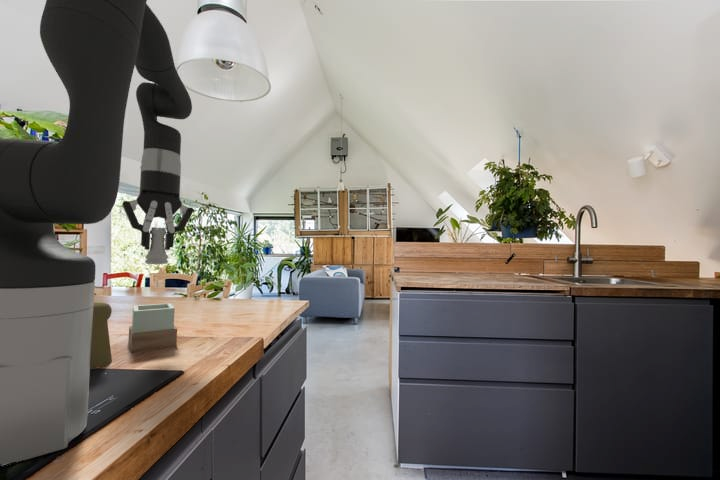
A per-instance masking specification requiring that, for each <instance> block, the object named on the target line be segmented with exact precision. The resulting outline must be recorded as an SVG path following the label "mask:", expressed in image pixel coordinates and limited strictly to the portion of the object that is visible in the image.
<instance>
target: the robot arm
mask: <svg viewBox="0 0 720 480" xmlns="http://www.w3.org/2000/svg"><path fill="white" fill-rule="evenodd" d="M147 1H148V0H46V1H45V4H44V7H43V11H42V15H41V19H40V24H39V36H40V40H41V43H42V47H43V49H44V51H45V53H46V55H47V58H48V60H49V61H50V63H51V65H52V67H53V69H54V70H55V73H56V74H57V76H58V77H59V79H60V81H61V83H62V84H63V86H64V88H65V90H66V93H67V97H68V99H69V102H68V103H69V109H68V118H67V123H66V127H65V130H64V133H63V136H62V138H61V139H60V140H59V141H54V140H53V141H52V140H39V139H38V140H37V139H25V138H24V139H23V138H22V139H21V138H0V464H1V465H2V464H6V463H9V462H16V463H19V461H20V462H22V460H23V461H26V460H29V459H33V458H36V457H40V456H43V455H47V454H49V453H54V452H58V451H61V450H64V449H66V448H68V445H69V443H70V442H71V441H72V440H73V439H75V438H76V437H78V436H79V435H80V434H81V433H83V431H84V430H85V429H86V427H87V426H88V424H87V423H88V408H89V396H90V395H89V393H90V391H89V390H90V389H89V388H90V374H91V373H90V372H91V370H90V357H91V339H92V321H93V305H94V303H95V287H96V285H95V284H96V282H95V281H96V270H97V269H96V262H95V261H94V258H91V257H90V256H88V255H85V254H82V253H80V252H76V251H74V250H72V249H70V248H68V247H66V246H65V245H63V244H62V243H61V242H60V241H59V240H58V239H57V238H56V234H55V229H54V224H63V225H65V224H67V225H91V224H92V225H93V224H97V223H99V222H101V221H103V220H105V219H106V218H107V217H108V216H109V215H110V213H111V212H112V210H113V207H114V205H115V204H116V201H117V198H118V192H119V187H120V179H121V167H122V152H123V151H122V150H123V140H124V139H123V137H124V128H125V127H124V126H125V117H126V110H127V103H128V98H129V93H130V88H131V83H132V77H133V74H134V71H135V70H134V69H136V71H137V73H138V74H139V76H140V77H141V78H142V79H144V80H146V81H143V82H141V83H140V84H138V86H137V88H136V91H135V96H136V102H137V105H138V108H139V109H138V110H139V112H140V115H141V116H140V117H141V120H142V127H143V150H142V155H141V162H140V163H141V165H140V180H139V182H140V183H139V194H138V196H137V198H136V199H133V200H124V201H123V202H122V205H121V206H122V207H123V211H124V212H125V213H124V214H125V215H126V218H127V219H128V221H129V224H130V226H131V227H132V229H134V230H137V231H140V233H141V234H140V235H141V240H140V245H141V247H143V248H144V250H145V251H146V250H148V251H149V250H150V246H151V239H150V238H151V233H150V231H151V227H152V226H151V225H152V223H153V221H154V218H159V219H164V220H163V221H164V223H165V230H166V232H167V233H166V234H165V235H164V238H165V240H164V247H165V251H170V250H171V248H173V247H174V245H175V243H174V241H175V234H176V233H178V232H182V231H184V230H185V228H186V226H187V223H188V222H189V220H190V218H191V216H192V215H193V212H194V208H193V207H188V206H187V205H184V204H182V203H183V202H182V201H181V198H180V196H181V194H180V193H181V175H182V174H181V173H182V172H181V171H182V162H181V161H182V160H181V148H182V147H181V144H182V135H181V132H180V131H179V130H178V129H177V128H175V127H173V126H170V125H168V124H164V123H161V122H160V121H158V117H159V118H167V119H174V120H185V119H188V118H189V117H190V116H191V114H192V110H193V104H192V99H191V96H190V93H189V92H188V89H187V88H186V86H185V85H184V83H183V81H182V79H181V77H180V75H179V73H178V71H177V69H176V65H175V61H174V57H173V53H172V52H173V51H172V47H171V43H170V40H169V37H168V34H167V31H166V29H165V28H164V26H163V24H162V23H161V21H160V20H159V19H158V16H157V15H156V14H155V13H154V11H153V10H152V9H151V8H150V6H149V5H148V4H147ZM137 205H138V206H139V207H140V209H141V210H142V211H143V213H144V214H145V215H144V219H143V223H142V224H141V223H139V221H138V219H137V216H136V214H135V210H136V209H137ZM179 209H180V214H181V215H182V216H181V218H180V220H179V221H178V223H177V225H176V226H175V223H174V221H175V220H174V215H175V213H177V211H179Z"/></svg>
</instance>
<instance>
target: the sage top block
mask: <svg viewBox="0 0 720 480" xmlns="http://www.w3.org/2000/svg"><path fill="white" fill-rule="evenodd" d="M131 326H132V330H133V333H142V332H150V331H159V330H168V329H174V326H175V306H173V304H172V303H171V302H169V303H156V304H155V303H153V304H152V303H151V304H142V305H132V321H131Z"/></svg>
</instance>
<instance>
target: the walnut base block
mask: <svg viewBox="0 0 720 480" xmlns="http://www.w3.org/2000/svg"><path fill="white" fill-rule="evenodd" d="M177 339H178V328H177V327H176V326H175V325H174V329H168V330H159V331H150V332H142V333H133V330H132V325H129V327H128V345H129V346H128V347H129V350H130V353H137V352H143V351H151V350H156V349H164V348H168V347H169V348H170V347H176V346H177V344H178V341H177Z"/></svg>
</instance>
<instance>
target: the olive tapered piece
mask: <svg viewBox="0 0 720 480" xmlns="http://www.w3.org/2000/svg"><path fill="white" fill-rule="evenodd" d="M111 315H112V307H111V305H110V304H109V303H107V302H106V303H105V302H94V305H93V321H92V339H91V357H90V371H91V370H96V369H100V368H103V367H105V366H106V367H107V366H108V365H110V364H111V363H112V362H113V358H112V349H111V341H110V331H109V324H108V320H109V319H110V318H111Z"/></svg>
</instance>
